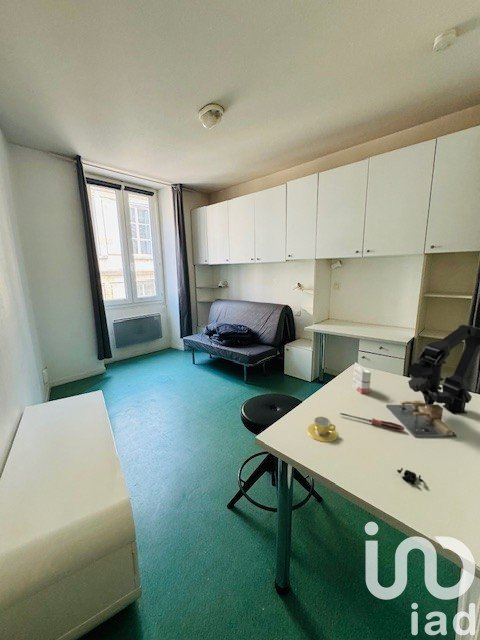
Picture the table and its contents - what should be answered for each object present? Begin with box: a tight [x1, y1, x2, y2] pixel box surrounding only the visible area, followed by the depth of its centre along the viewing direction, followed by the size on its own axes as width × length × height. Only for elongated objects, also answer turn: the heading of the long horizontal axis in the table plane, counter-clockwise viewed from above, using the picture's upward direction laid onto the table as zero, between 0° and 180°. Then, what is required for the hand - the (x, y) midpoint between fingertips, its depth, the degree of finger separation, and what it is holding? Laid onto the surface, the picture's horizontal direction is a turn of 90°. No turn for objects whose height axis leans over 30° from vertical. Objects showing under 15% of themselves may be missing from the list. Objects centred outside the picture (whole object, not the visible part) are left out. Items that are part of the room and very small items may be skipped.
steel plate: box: [385, 404, 458, 438], centre depth 111 cm, size 16×22×1 cm
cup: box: [306, 416, 339, 443], centre depth 105 cm, size 12×12×5 cm
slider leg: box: [413, 403, 444, 422], centre depth 109 cm, size 10×3×6 cm, turn 87°
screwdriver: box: [339, 412, 405, 432], centre depth 110 cm, size 25×3×3 cm, turn 60°
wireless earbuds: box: [396, 467, 424, 485], centre depth 82 cm, size 7×2×5 cm
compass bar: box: [399, 400, 454, 435], centre depth 111 cm, size 10×22×3 cm, turn 177°
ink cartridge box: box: [352, 362, 372, 394], centre depth 138 cm, size 9×5×15 cm, turn 6°
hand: (427, 407), depth 112 cm, fingers closed
